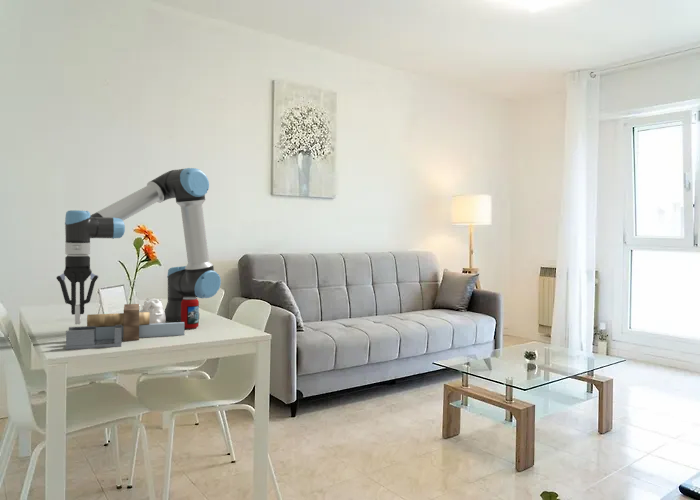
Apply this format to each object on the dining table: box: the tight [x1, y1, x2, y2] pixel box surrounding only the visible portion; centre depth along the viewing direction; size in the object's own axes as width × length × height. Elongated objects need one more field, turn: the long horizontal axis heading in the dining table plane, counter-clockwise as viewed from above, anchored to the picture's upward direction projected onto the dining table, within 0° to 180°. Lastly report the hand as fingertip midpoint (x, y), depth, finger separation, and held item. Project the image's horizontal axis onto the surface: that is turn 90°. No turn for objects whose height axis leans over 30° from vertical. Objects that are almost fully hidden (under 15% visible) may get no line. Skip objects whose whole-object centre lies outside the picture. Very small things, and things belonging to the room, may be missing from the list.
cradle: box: [65, 325, 123, 351], centre depth 170 cm, size 16×9×6 cm, turn 113°
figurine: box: [139, 297, 167, 324], centre depth 201 cm, size 10×10×12 cm
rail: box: [96, 321, 185, 340], centre depth 185 cm, size 30×2×4 cm, turn 113°
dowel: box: [86, 312, 150, 327], centre depth 182 cm, size 20×4×4 cm, turn 113°
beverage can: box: [180, 297, 200, 330], centre depth 204 cm, size 7×7×12 cm
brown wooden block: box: [122, 303, 140, 342], centre depth 186 cm, size 5×17×11 cm, turn 23°
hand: (77, 323), depth 177 cm, fingers closed
